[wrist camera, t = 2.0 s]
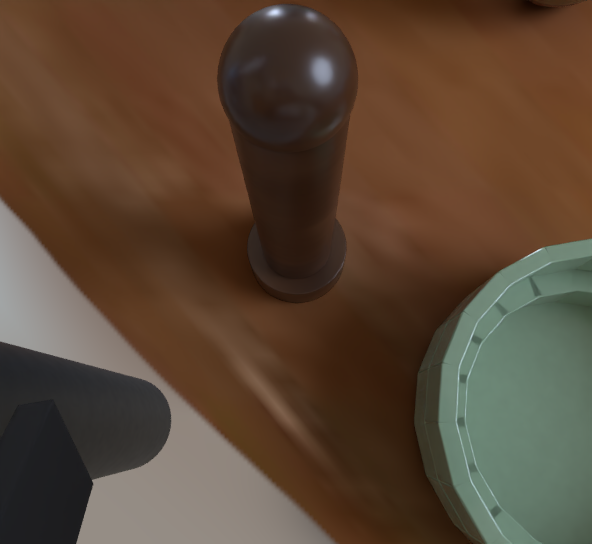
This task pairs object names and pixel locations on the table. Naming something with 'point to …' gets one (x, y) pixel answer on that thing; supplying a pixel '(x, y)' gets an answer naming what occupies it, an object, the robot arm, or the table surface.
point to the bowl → (514, 403)
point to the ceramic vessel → (555, 2)
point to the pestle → (291, 142)
